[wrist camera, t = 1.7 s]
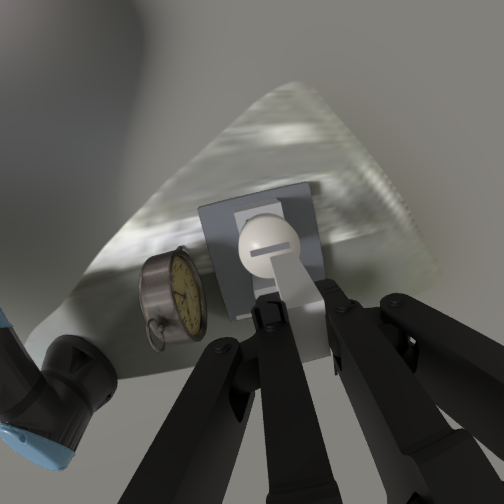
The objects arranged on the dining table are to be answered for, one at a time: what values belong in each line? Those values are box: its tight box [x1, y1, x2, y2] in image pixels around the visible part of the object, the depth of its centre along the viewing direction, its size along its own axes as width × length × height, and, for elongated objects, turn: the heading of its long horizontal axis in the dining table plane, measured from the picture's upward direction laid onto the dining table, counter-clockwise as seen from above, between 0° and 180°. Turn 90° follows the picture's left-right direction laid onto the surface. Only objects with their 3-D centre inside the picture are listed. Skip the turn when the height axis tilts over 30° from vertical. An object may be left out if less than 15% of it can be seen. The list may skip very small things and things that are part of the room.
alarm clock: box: [139, 246, 207, 353], centre depth 31 cm, size 11×5×16 cm, turn 14°
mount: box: [197, 182, 326, 322], centre depth 35 cm, size 14×16×7 cm
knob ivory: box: [239, 213, 300, 278], centre depth 27 cm, size 5×5×8 cm
